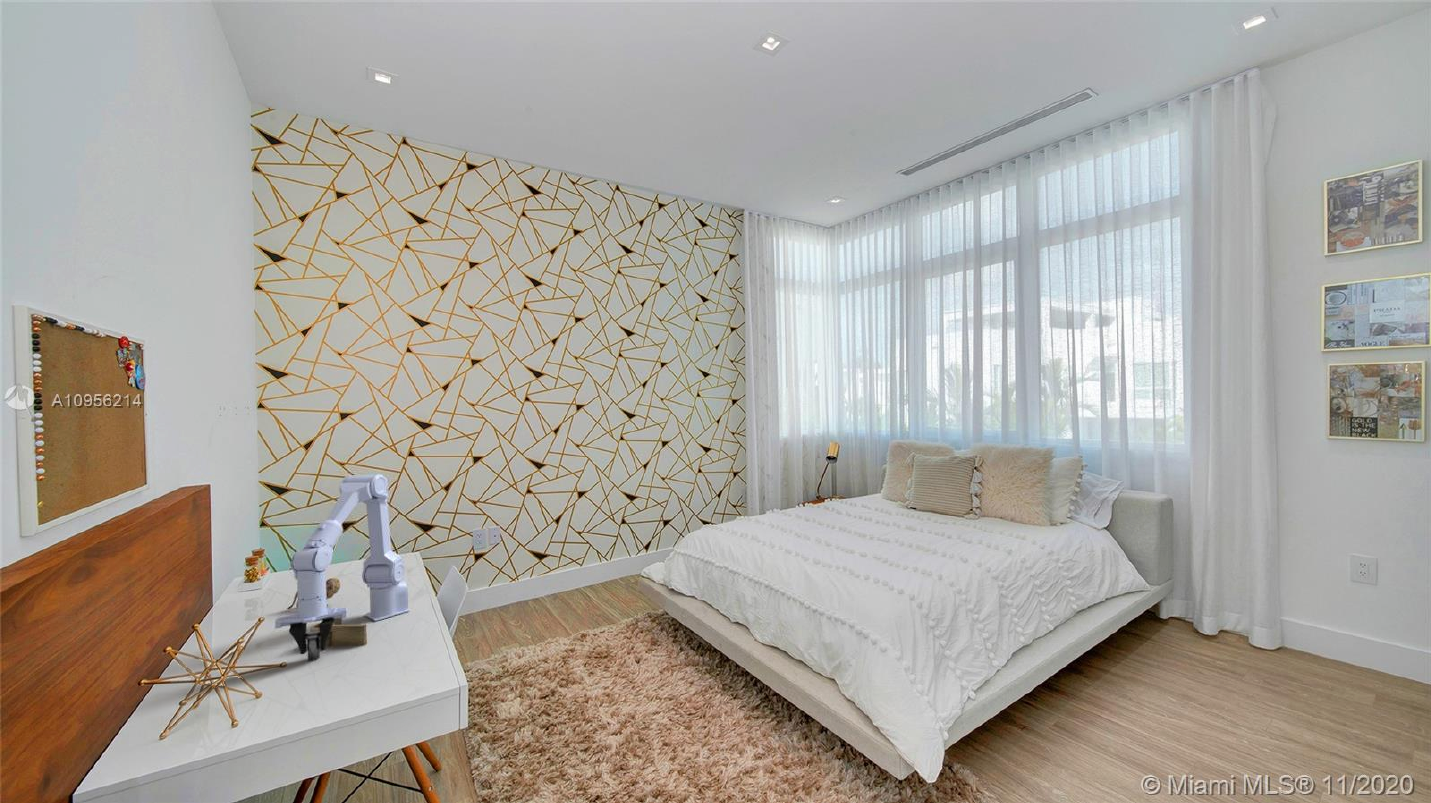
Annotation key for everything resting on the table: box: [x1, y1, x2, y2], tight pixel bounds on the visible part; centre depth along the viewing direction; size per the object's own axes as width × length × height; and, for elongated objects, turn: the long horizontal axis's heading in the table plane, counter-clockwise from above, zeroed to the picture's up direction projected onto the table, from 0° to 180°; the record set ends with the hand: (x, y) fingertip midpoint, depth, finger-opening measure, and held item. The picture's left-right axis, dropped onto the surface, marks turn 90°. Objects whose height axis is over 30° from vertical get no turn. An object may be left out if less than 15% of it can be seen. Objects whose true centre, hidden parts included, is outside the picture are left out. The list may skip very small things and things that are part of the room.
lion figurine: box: [286, 577, 341, 610], centre depth 168 cm, size 15×5×9 cm, turn 103°
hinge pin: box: [304, 630, 321, 662], centre depth 134 cm, size 4×4×6 cm
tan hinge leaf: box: [309, 622, 368, 648], centre depth 142 cm, size 14×5×5 cm, turn 86°
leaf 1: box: [319, 617, 343, 641], centre depth 147 cm, size 14×5×4 cm, turn 16°
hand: (313, 650), depth 134 cm, fingers closed on hinge pin, 3 cm apart
